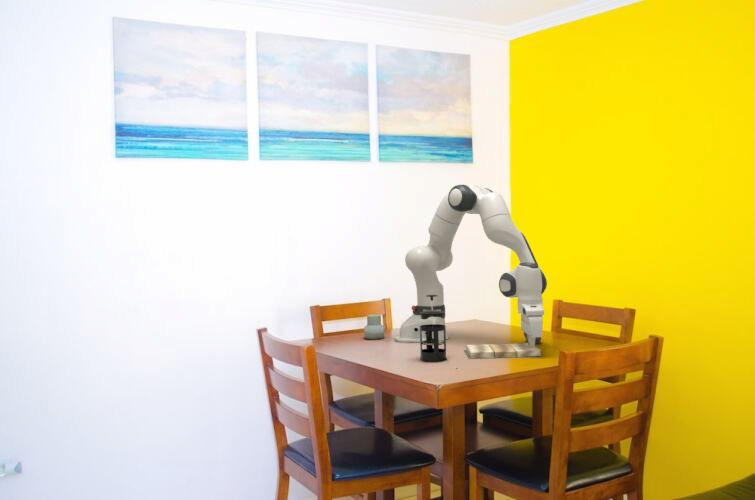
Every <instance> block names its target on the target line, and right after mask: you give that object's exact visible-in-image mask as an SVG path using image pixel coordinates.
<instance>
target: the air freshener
mask: <svg viewBox="0 0 755 500" xmlns="http://www.w3.org/2000/svg"><path fill="white" fill-rule="evenodd" d="M366 323H367V324H366V325H365V326H364V329H363V331H364V332H363V333H364V337H365V338H366V339H367V340H381V339H383V338H385V325H383V324H382V315H381V314H376V313H375V314H373V313H372V314H368V315H366Z"/></svg>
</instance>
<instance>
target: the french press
mask: <svg viewBox="0 0 755 500" xmlns="http://www.w3.org/2000/svg"><path fill="white" fill-rule="evenodd" d="M436 296H437V295H427V296H426V297H430V298H431V303H432V301H433V297H436ZM444 313H445V314H446V311H445V312H444V311H437V310H433V303H432V310H430V311H423V312H420V314H421V319H428V318H429V317H432V324H427V325H421V326H420V342H419V344H420V359H419V360H420V361H421V362H424V363H442V362H446V361H447V360H448V359H447V345H446V344H447V339H446V332H445V325H446V324H445V325H440V324H433V317H441V318H444ZM422 331H426V340H425V341H422ZM438 331H444V340H438ZM433 337H434V338H433ZM423 345H424V346H426V348H424V349H423ZM440 345H443V347H444V348H440V347H439V346H440Z"/></svg>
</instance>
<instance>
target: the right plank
mask: <svg viewBox="0 0 755 500" xmlns="http://www.w3.org/2000/svg"><path fill="white" fill-rule="evenodd" d="M509 345H510V346H511V347H512V348H513V349H514V350H515V351H516V355H517V357H530V356H541V355H542V353H541V349H540V348H539V347H538V346H536V345H535V347H530V346H528V342H519V343H509Z"/></svg>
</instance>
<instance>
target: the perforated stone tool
mask: <svg viewBox="0 0 755 500" xmlns="http://www.w3.org/2000/svg"><path fill="white" fill-rule="evenodd" d="M523 336H524V339H525V340H526V341H527V342H528V339H527V333H525V332H524V331H523ZM541 341H542V336H541V337H536V339H535V345H540V344H541Z"/></svg>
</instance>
